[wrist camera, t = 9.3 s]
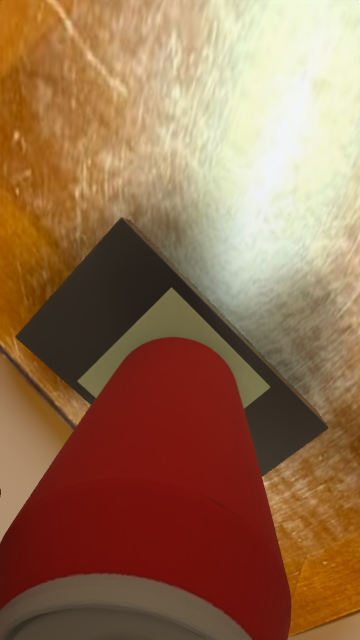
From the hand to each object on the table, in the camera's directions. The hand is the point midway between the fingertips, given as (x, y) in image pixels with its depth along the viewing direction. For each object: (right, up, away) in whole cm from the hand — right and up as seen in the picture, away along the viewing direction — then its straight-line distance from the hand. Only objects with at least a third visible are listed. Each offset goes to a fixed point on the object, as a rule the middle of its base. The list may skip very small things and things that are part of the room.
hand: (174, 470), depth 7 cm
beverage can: (0, 0, +10) cm, 10 cm away
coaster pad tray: (0, +1, +13) cm, 13 cm away
